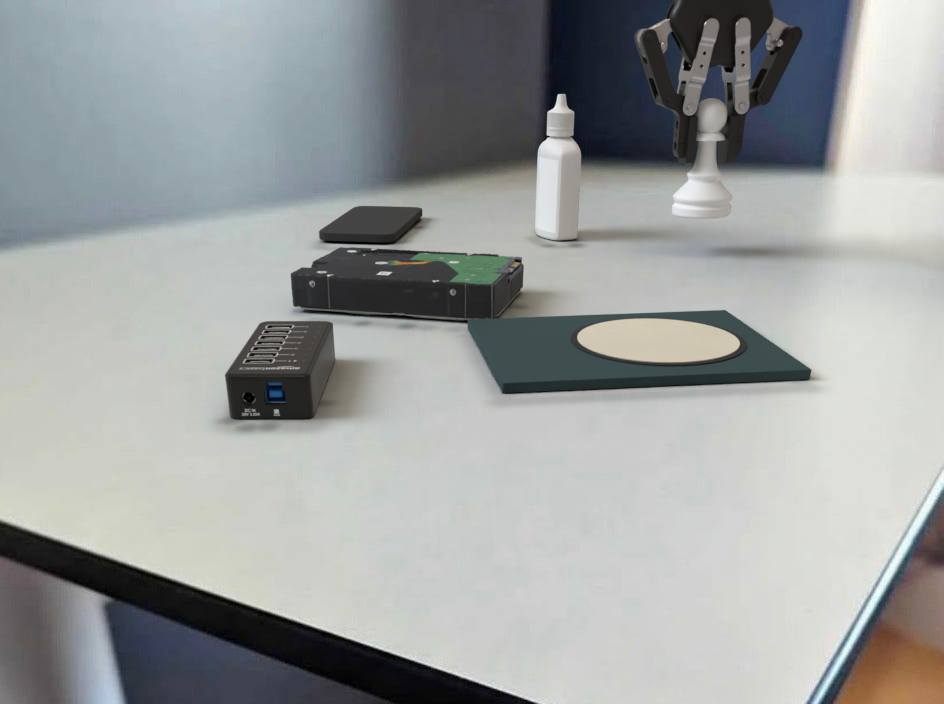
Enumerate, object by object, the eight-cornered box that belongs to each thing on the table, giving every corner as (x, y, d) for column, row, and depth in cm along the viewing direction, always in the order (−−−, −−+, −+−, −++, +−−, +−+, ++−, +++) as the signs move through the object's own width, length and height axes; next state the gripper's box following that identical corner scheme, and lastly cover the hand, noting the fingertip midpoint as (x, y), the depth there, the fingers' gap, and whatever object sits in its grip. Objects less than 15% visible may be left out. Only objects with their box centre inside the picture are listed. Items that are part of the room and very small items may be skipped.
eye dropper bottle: (529, 240, 96) (533, 96, 89) (536, 230, 100) (541, 92, 94) (576, 242, 95) (583, 96, 89) (581, 231, 100) (588, 92, 93)
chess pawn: (737, 218, 87) (751, 99, 82) (679, 220, 87) (689, 101, 82) (721, 209, 91) (733, 95, 86) (665, 211, 91) (674, 96, 86)
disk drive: (291, 314, 73) (496, 324, 70) (287, 273, 71) (496, 281, 68) (340, 282, 81) (524, 289, 78) (337, 245, 80) (525, 251, 77)
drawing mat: (724, 318, 71) (725, 307, 71) (810, 379, 59) (812, 366, 59) (467, 328, 69) (467, 316, 69) (502, 393, 57) (502, 380, 57)
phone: (314, 232, 94) (355, 205, 107) (315, 242, 95) (355, 213, 108) (393, 235, 93) (425, 207, 106) (393, 244, 94) (425, 215, 107)
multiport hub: (336, 358, 63) (333, 320, 62) (312, 418, 53) (309, 375, 52) (264, 358, 63) (260, 320, 62) (228, 418, 53) (222, 375, 52)
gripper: (653, -88, 74) (637, 172, 83) (839, -90, 75) (803, 166, 84) (626, -79, 80) (613, 161, 89) (797, -81, 82) (768, 156, 91)
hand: (706, 162), depth 87 cm, fingers closed on chess pawn, 3 cm apart
